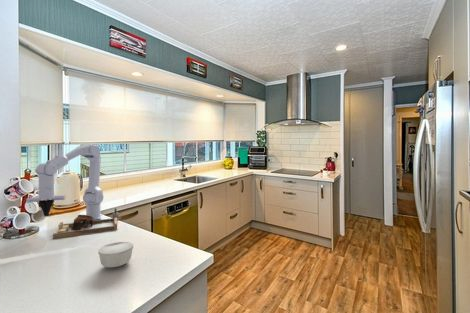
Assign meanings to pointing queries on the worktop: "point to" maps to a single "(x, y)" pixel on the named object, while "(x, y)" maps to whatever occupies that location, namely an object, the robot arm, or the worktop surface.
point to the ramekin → (115, 254)
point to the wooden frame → (88, 231)
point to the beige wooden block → (63, 228)
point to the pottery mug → (84, 224)
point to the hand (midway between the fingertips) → (46, 216)
